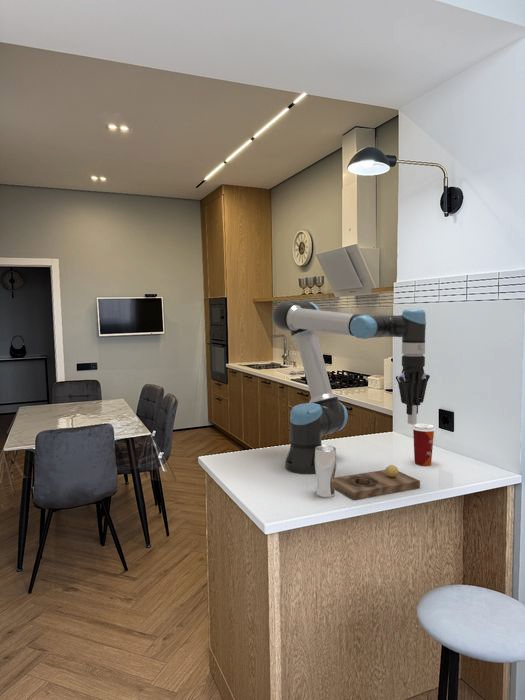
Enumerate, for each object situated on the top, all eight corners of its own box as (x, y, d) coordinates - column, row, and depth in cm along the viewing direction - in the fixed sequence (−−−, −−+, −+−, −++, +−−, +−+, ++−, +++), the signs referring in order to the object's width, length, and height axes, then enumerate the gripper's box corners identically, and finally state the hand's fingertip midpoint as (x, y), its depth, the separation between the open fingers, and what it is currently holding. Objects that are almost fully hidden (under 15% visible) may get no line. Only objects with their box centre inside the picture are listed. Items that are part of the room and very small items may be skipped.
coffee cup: (435, 467, 183) (436, 428, 182) (412, 466, 185) (413, 427, 184) (432, 461, 191) (433, 423, 190) (410, 459, 193) (411, 422, 192)
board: (353, 500, 152) (353, 492, 151) (330, 485, 164) (330, 478, 164) (419, 488, 162) (420, 480, 162) (392, 475, 175) (392, 468, 175)
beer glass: (321, 488, 162) (322, 444, 161) (340, 493, 157) (340, 447, 156) (310, 494, 156) (310, 448, 155) (328, 499, 152) (329, 452, 151)
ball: (385, 477, 165) (385, 466, 164) (386, 474, 168) (386, 462, 168) (397, 479, 163) (397, 467, 163) (398, 475, 167) (398, 464, 167)
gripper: (405, 356, 160) (404, 427, 161) (436, 355, 165) (434, 424, 167) (390, 354, 167) (389, 423, 168) (420, 353, 172) (419, 419, 174)
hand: (412, 423), depth 168 cm, fingers closed
